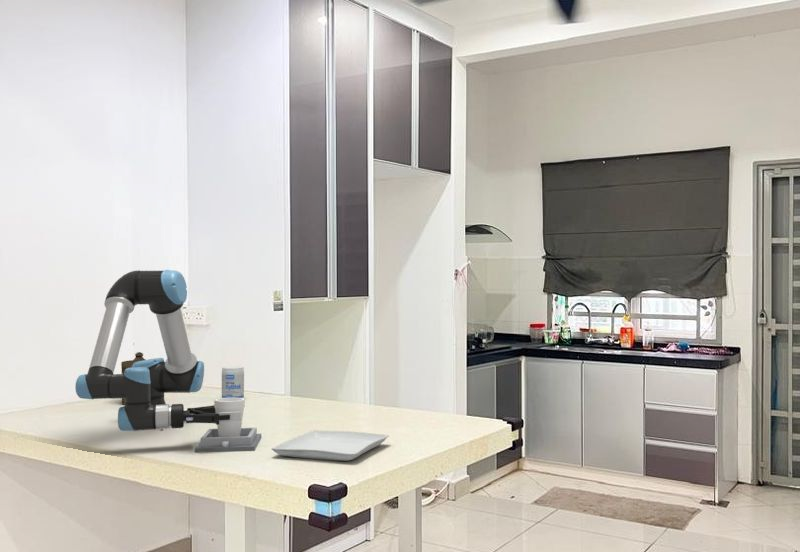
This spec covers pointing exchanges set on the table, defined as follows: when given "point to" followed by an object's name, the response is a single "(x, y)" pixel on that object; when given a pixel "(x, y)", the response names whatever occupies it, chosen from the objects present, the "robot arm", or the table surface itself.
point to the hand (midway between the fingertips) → (240, 412)
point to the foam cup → (229, 406)
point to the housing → (229, 441)
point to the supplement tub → (233, 382)
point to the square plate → (330, 445)
